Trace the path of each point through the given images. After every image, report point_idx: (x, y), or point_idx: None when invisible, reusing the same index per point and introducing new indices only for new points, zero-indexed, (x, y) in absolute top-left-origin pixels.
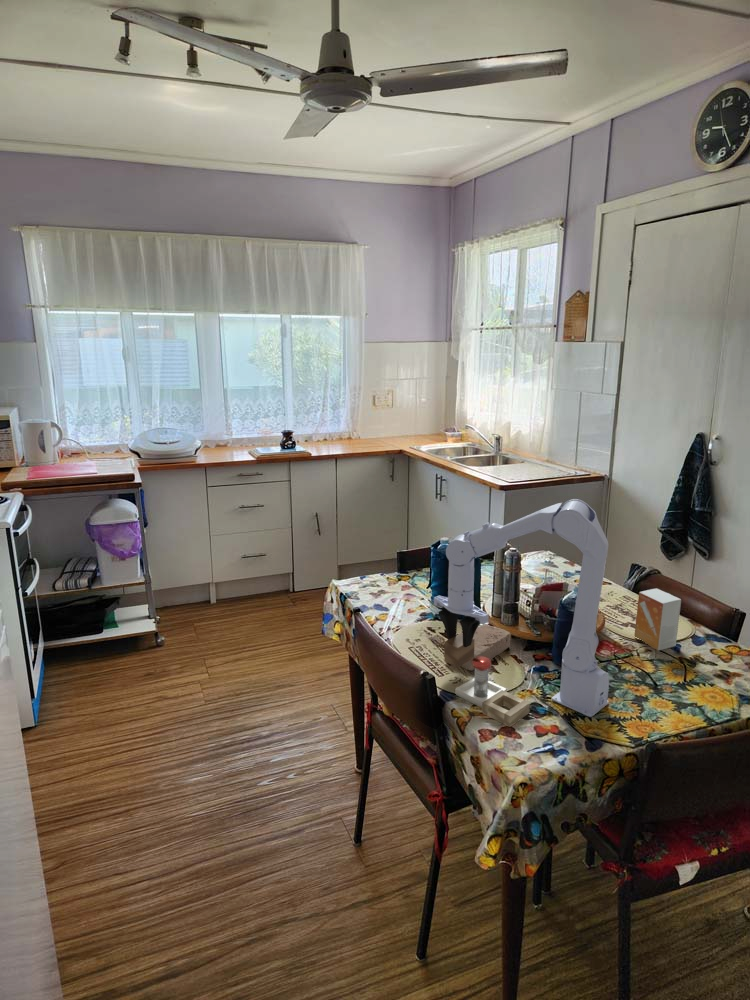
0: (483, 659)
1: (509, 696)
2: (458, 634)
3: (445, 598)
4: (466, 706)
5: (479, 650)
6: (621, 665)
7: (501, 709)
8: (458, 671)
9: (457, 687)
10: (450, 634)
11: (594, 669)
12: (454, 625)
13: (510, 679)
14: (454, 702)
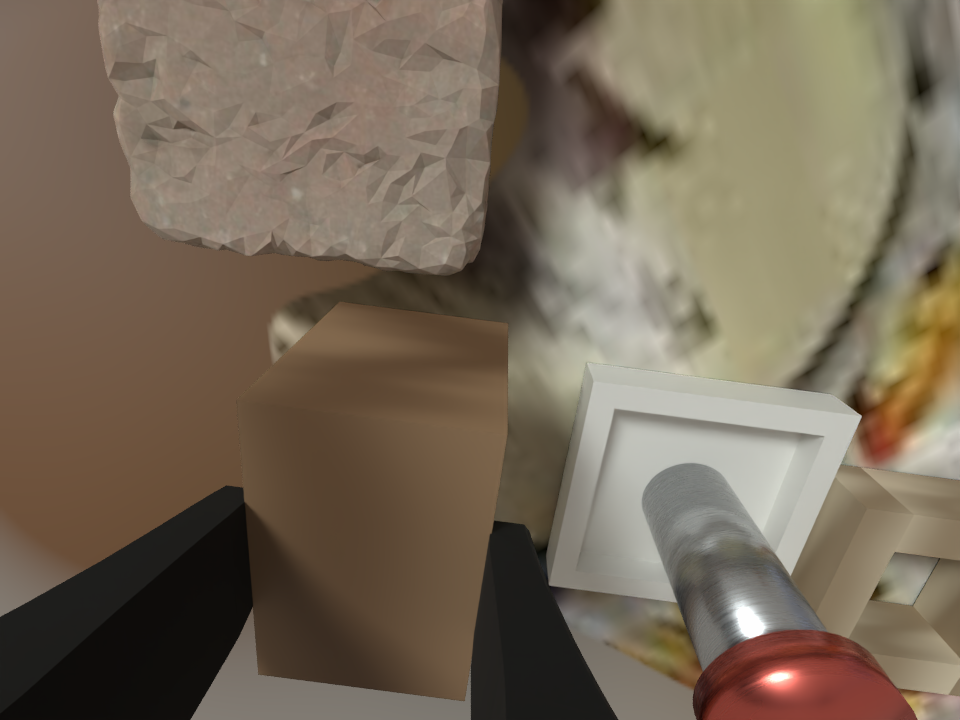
0: (815, 715)
1: (940, 547)
2: (245, 460)
3: None
4: (654, 606)
5: (461, 129)
6: None
7: (921, 675)
8: None
9: (551, 569)
10: (218, 642)
11: None
12: (119, 674)
13: (797, 182)
14: (580, 608)
